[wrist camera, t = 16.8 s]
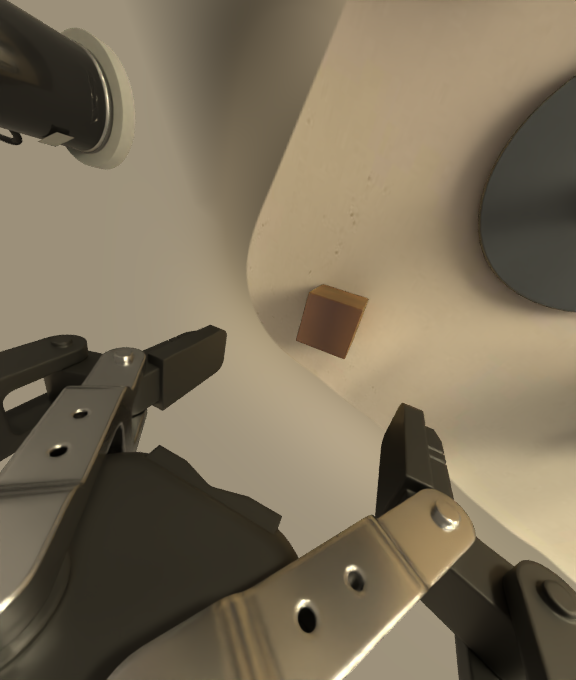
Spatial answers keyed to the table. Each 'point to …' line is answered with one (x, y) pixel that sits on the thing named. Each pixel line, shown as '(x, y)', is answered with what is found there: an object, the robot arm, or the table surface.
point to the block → (331, 320)
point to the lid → (535, 206)
